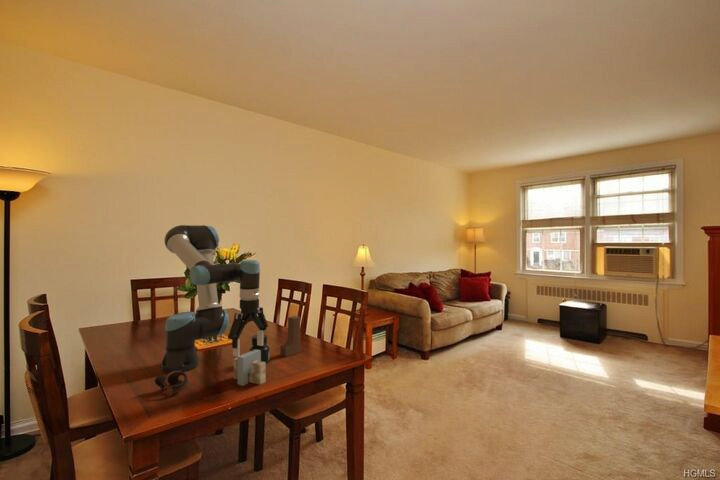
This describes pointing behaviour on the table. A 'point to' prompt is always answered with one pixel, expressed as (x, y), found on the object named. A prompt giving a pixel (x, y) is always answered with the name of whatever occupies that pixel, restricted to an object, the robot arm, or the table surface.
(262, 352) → the ink bottle
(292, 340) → the wooden block
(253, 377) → the slotted board
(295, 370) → the table surface
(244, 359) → the slotted plate
